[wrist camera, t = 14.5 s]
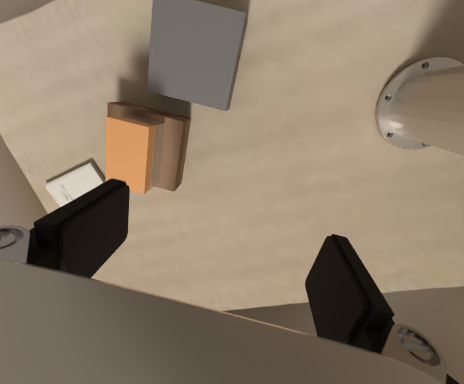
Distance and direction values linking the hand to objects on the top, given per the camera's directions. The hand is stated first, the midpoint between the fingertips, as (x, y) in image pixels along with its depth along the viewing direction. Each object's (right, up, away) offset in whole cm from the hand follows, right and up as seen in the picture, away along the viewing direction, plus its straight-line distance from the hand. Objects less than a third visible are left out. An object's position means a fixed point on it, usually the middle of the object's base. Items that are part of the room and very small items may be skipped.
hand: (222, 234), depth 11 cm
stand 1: (-14, +10, +30) cm, 35 cm away
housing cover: (-14, +8, +23) cm, 28 cm away
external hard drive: (-30, +3, +36) cm, 47 cm away
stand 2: (-4, +22, +24) cm, 33 cm away
